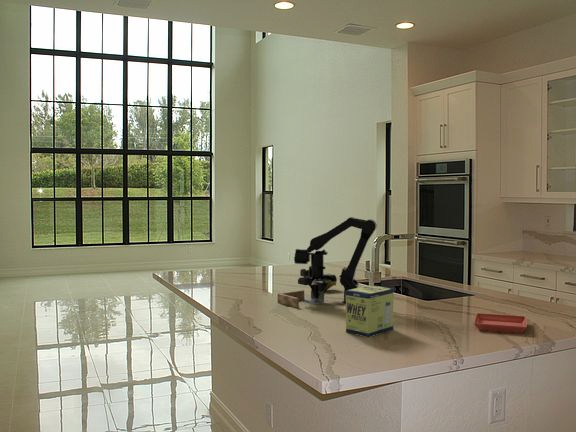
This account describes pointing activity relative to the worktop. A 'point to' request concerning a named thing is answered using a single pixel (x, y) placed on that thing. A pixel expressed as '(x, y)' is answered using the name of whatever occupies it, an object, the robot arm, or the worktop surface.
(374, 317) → the protein box
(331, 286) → the potato
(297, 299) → the wooden corner frame
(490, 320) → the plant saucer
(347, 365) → the worktop surface
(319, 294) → the bracket
